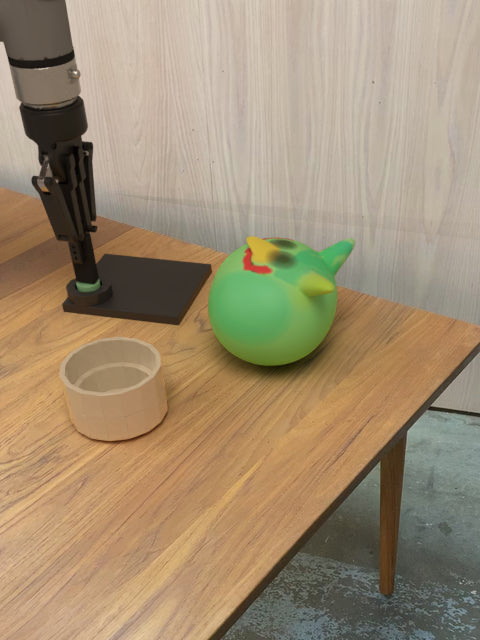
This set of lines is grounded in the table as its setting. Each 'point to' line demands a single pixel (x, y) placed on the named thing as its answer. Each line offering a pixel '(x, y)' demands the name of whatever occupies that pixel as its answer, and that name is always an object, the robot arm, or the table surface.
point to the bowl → (114, 388)
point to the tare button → (88, 286)
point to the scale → (140, 289)
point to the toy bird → (275, 298)
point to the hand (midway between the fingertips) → (87, 279)
